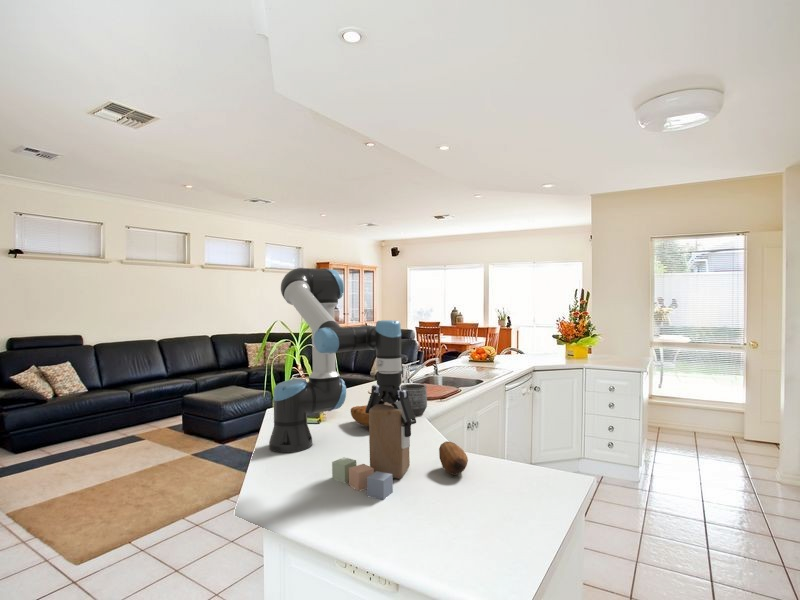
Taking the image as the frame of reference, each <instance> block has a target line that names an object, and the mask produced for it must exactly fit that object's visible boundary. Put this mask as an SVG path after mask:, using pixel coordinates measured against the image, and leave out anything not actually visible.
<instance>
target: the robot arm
mask: <svg viewBox="0 0 800 600" xmlns="http://www.w3.org/2000/svg"><path fill="white" fill-rule="evenodd" d="M344 291H345V286H344V279H343V278H342V276H341V274H340V273H339V271H337V270H335V269H331V268H308V267H307V268H305V267H298V268H294V269H292V270H290V271H289V272H287V273H286V274H285V275H284V277H283V278H282V280H281V282H280V292H281V293H280V294H281V296H282V297H283V299H284V300H285V302H286V303H287V304H289V305H291V306H293V307H294V308H295V309H296V311H297V313H298V314H299V315H300V316H301V317H302V319H303V320H304V322H305V323H306V324H307V325H308V327H309V329H311V342H312V343H311V345H312V346H311V347H312V349H311V350H312V351H311V353H312V372H311V373H310V374H309V376H308V381H307V380H306V379H304V378H297V379H288V380H285V381H282V382H279V383H277V384H276V385H275V386H274V389H273V396H272V399H273V428H272V431H271V435H270V439H269V442H268V443H269V444H268V445H269V446H268V449H269V450H270V451H271V452H276V453H281V454H282V453H283V454H284V453H285V454H286V453H296V452H302V451H304V450H306V449H310V447H312V446H313V437H312V434H311V430H310V428H309V425H308V415H312V414H317V413H323V412H332V411H335V410H338V409H341V407H342V406H343V404H344V403H345V402H346V401H345V400H346V397H347V386H346V383H345V382H346V381H344V380H343V378H340V377H341V375H340V373H339V372H337V370H336V354H337V353H346V352H357V351H367V350H371V351H375V352H376V353H375V354H376V370H377V373H376V384H373V385H371V393H370V396H369V398H368V402H367V404H366V405H367V408H366V411H365V412H366V413H368V414H369V410H370V408H372V407H373V406H375V405H376V404H382V403H386V402H387V403H389V404H392V406H394V408H396V409H401V410H402V414H401V421H402V423H403V425H402V426H401V448H402V449H404V448H407V447H409V448H410V446H411V444H410V443H411V436H412V425H415V424H417V419H416V416H414V413H413V410H412V407H411V404H410V401H409V398H408V391H407V390H403V391H401V385H402V384H403V383H402V380H403V379H402V377H403V376H402V372H401V371H402V329H401V321H399V320H395V319H393V320H392V319H388V320H387V319H386V320H385V319H383V320H377V321H376V323H375V325H369V324H367V325H359V326H340V324H338V322H337V321H336V320H335V308H336V306H338V304H339V300H340V299H341V298H342V297H343V296H344V294H343V293H344ZM313 346H314V347H313ZM406 420H407V421H406Z"/></svg>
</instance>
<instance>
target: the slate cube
mask: <svg viewBox="0 0 800 600" xmlns="http://www.w3.org/2000/svg"><path fill="white" fill-rule="evenodd" d="M393 479H394V478H393V475H392V474H389V473H384V472H378V471H376V472H374V473H373V474H372V475H370V476H369V477H367V489H366V497H368V496H369V498H373V499H379V500H383V501H384V500H386V499H387V498H388V497H389V496H390V495H392V493H394V489H393V488H394V485H393V483H394V482H393ZM386 497H387V498H386Z"/></svg>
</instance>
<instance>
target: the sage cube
mask: <svg viewBox="0 0 800 600" xmlns="http://www.w3.org/2000/svg"><path fill="white" fill-rule="evenodd" d="M354 466H357V460H356V459H353V458H349V457H345V456H344V457H343V456H342V457H341V458H339V459H336V460H334V461H331V468H332V469H331V471H332V472H331V474H332V475H331V476H332V478H331V479H332V480H334V479H335V480H334V481H337V480H338V481H337V482H341V483H344V482H345V483H347V482H349V468H350V467H354Z"/></svg>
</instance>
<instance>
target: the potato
mask: <svg viewBox="0 0 800 600" xmlns="http://www.w3.org/2000/svg"><path fill="white" fill-rule="evenodd" d="M438 454H439V455H438V456H439V461H440V463H441V466H442V468H443V469H444V471H445V472H446V473H448V474H449V475H454V476H457V475H458V474H461V473H462V472H464V471H465V469H466V468H467V466H468V462H469V459H468V455H467V453H466V452H465V451H464V450H463V449H462V447H460V446H459V445H457V444H456V443H455V442H452V441H444V442H443V443H441V444H440V446H439V448H438Z"/></svg>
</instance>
